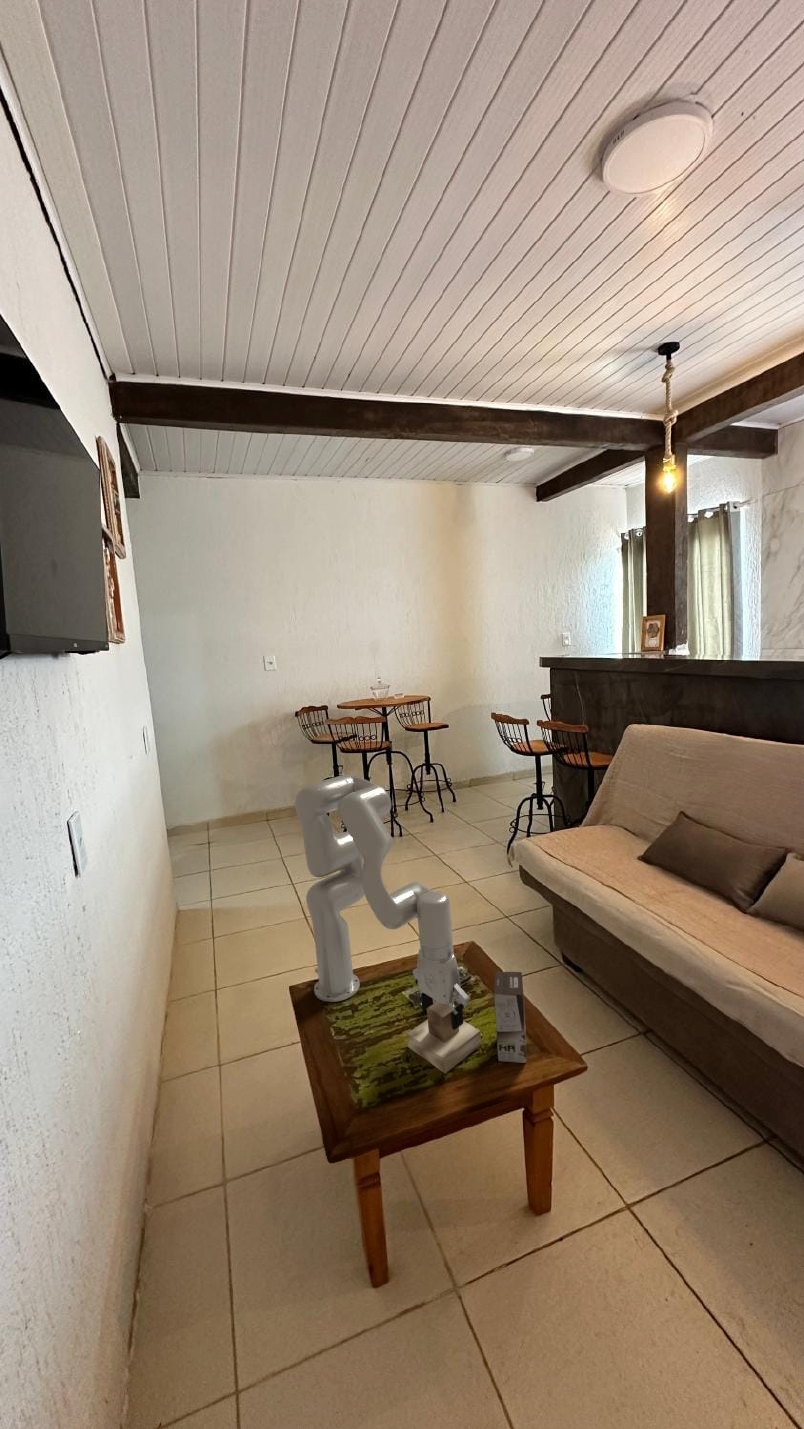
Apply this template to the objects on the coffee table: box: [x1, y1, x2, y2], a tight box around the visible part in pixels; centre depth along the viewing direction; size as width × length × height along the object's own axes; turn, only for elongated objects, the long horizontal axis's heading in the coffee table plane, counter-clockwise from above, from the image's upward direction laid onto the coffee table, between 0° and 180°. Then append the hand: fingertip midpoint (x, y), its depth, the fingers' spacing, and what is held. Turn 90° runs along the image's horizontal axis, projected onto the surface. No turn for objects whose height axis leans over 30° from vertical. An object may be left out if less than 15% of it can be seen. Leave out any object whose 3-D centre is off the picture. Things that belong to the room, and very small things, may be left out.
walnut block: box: [426, 1001, 459, 1042], centre depth 129 cm, size 5×5×6 cm
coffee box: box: [493, 971, 527, 1064], centre depth 127 cm, size 9×6×16 cm
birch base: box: [406, 1018, 482, 1074], centre depth 130 cm, size 12×12×4 cm
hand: (442, 1016), depth 129 cm, fingers open, 9 cm apart
